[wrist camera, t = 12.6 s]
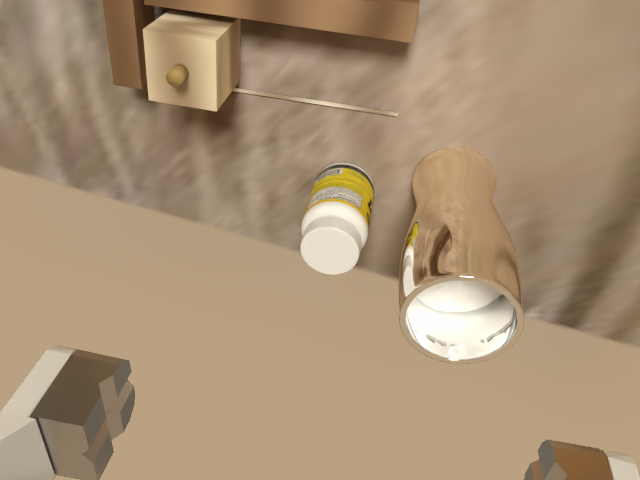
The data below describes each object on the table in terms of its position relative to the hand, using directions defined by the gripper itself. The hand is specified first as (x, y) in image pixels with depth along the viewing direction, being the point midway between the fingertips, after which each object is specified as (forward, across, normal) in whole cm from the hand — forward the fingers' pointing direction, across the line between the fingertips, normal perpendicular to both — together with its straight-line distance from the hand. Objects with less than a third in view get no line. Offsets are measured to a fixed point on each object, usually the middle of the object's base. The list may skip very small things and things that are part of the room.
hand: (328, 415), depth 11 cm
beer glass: (+31, -6, +12) cm, 34 cm away
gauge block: (+31, +13, +4) cm, 34 cm away
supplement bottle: (+31, +2, +14) cm, 34 cm away
